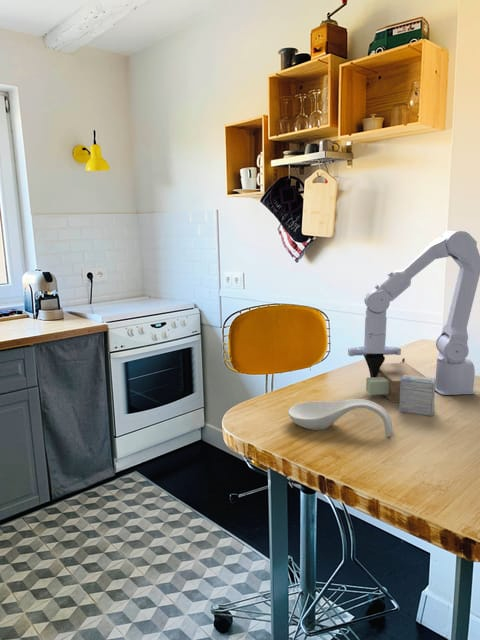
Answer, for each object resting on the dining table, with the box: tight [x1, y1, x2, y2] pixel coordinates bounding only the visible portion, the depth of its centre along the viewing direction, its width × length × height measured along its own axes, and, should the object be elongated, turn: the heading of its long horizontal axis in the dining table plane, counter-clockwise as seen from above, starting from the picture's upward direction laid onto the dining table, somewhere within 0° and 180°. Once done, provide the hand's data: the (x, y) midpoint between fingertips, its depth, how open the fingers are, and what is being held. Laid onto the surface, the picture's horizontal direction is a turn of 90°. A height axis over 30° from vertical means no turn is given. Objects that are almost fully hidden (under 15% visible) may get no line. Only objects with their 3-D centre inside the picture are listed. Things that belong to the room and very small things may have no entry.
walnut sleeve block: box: [379, 362, 426, 403], centre depth 138 cm, size 10×16×6 cm, turn 3°
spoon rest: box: [287, 398, 393, 438], centre depth 114 cm, size 24×12×7 cm, turn 72°
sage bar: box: [365, 377, 390, 396], centre depth 134 cm, size 9×4×4 cm, turn 94°
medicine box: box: [398, 375, 436, 417], centre depth 123 cm, size 8×4×9 cm, turn 65°
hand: (373, 379), depth 141 cm, fingers closed
